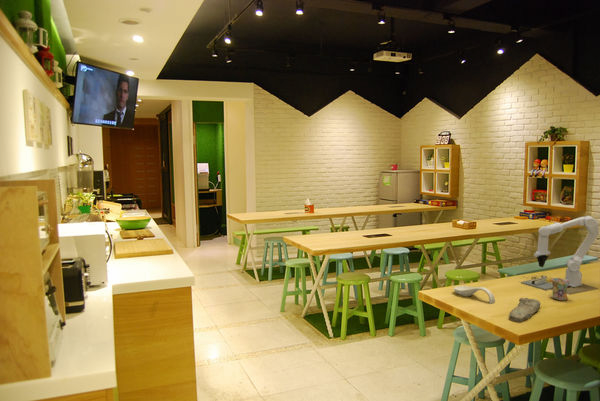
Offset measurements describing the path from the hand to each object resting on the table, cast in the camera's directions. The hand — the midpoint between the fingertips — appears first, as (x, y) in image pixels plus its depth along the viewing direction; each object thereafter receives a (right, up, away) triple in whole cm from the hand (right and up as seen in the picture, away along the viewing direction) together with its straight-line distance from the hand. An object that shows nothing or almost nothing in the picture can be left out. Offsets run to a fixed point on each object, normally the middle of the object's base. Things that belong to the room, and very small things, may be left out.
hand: (541, 266), depth 287 cm
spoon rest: (-55, -13, -32) cm, 65 cm away
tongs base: (-5, -9, -6) cm, 12 cm away
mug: (-8, -13, -31) cm, 35 cm away
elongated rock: (-38, -16, -55) cm, 69 cm away
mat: (-5, -10, -8) cm, 14 cm away
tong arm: (-4, -9, -6) cm, 12 cm away
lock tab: (-6, -9, -2) cm, 10 cm away
